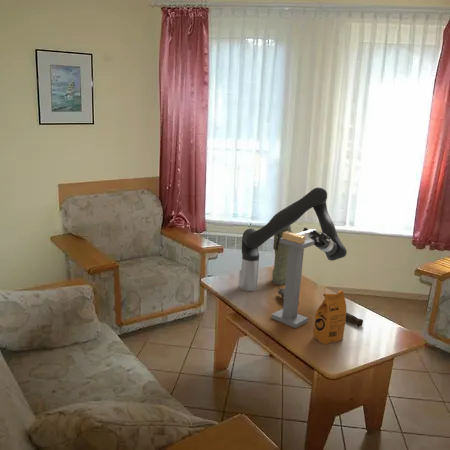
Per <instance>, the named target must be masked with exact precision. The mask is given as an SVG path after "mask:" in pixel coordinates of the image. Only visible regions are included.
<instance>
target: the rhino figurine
mask: <svg viewBox="0 0 450 450" xmlns="http://www.w3.org/2000/svg"><path fill="white" fill-rule="evenodd" d="M277 293H278V295H280V297H281V298H280V300H283V301H284V293H285V287H284V286H283V287H281V288H280V287H278V289H277Z"/></svg>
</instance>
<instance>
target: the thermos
mask: <svg viewBox="0 0 450 450" xmlns="http://www.w3.org/2000/svg"><path fill="white" fill-rule="evenodd" d="M286 231H287V232H291V233H294V232H293V231H292V225H290V226H288V227H286V228H285V229H283V230H281V231H280V232H278V233H277V234H275V235H273V246H272V247H273V250H274V264H273V269H272V276H271V277H272V281H271V282H272V283H273V284H275V285H277V286H278V285H279V286H282V285H284V286H285V283H286V272H287V261H288V251H289V245H286V244H283V243H280V238H283V232H286Z"/></svg>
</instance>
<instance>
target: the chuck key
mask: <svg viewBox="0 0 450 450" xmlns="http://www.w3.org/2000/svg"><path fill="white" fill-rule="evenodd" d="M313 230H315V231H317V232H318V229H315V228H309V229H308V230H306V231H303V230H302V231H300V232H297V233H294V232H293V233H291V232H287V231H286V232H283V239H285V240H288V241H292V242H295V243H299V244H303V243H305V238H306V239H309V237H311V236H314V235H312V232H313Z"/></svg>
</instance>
